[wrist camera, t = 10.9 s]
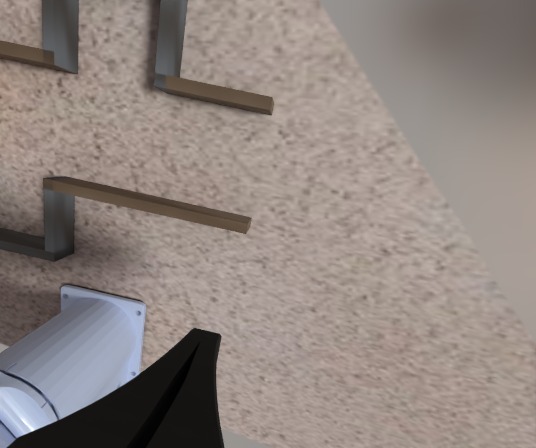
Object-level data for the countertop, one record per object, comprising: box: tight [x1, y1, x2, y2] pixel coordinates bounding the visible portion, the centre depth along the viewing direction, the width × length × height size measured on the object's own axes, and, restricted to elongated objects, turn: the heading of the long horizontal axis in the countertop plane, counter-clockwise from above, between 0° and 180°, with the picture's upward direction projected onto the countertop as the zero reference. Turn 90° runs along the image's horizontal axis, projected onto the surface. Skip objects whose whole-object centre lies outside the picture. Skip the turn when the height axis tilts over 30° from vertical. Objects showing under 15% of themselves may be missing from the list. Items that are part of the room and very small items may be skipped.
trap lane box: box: [0, 0, 274, 262], centre depth 19 cm, size 22×30×2 cm
